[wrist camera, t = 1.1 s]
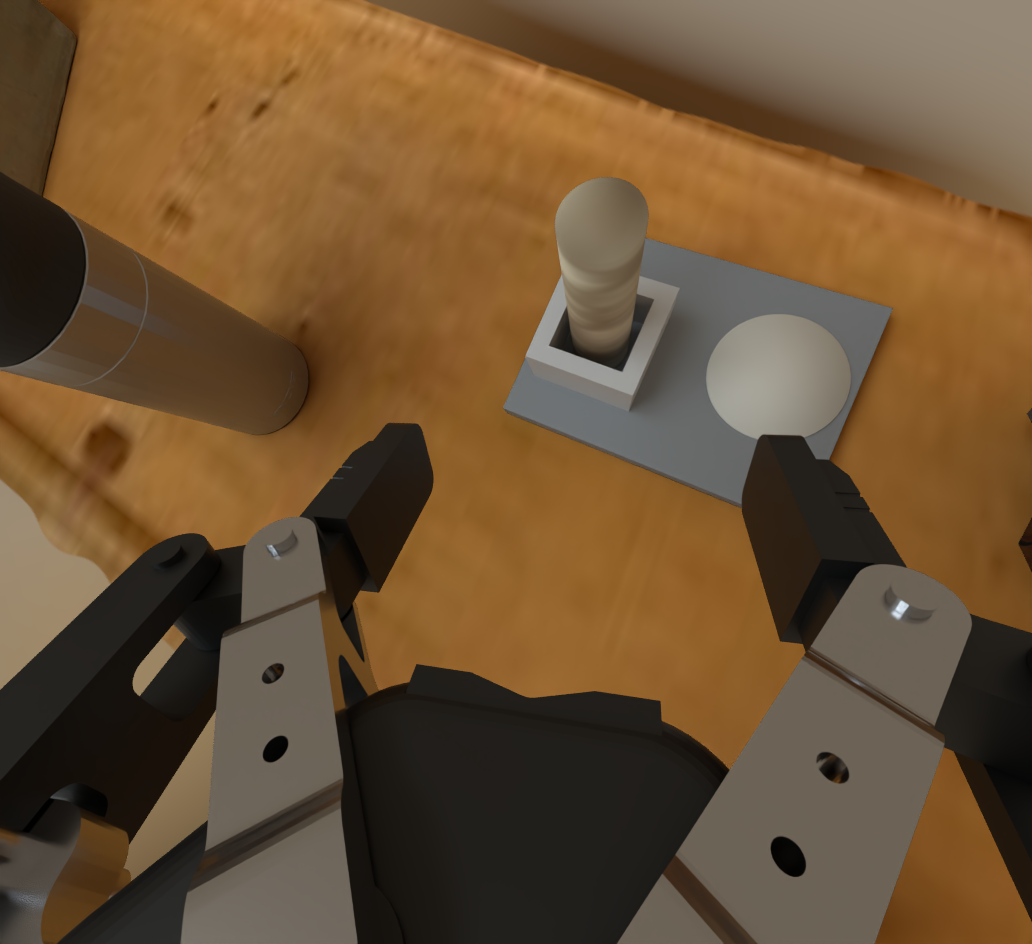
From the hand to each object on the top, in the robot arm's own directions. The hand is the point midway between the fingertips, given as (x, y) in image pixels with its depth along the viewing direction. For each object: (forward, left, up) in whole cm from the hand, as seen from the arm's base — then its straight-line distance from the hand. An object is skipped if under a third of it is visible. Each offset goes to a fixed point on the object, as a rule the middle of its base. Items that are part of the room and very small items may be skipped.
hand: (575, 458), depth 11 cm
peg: (-4, +11, -21) cm, 24 cm away
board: (+2, +12, -23) cm, 26 cm away
